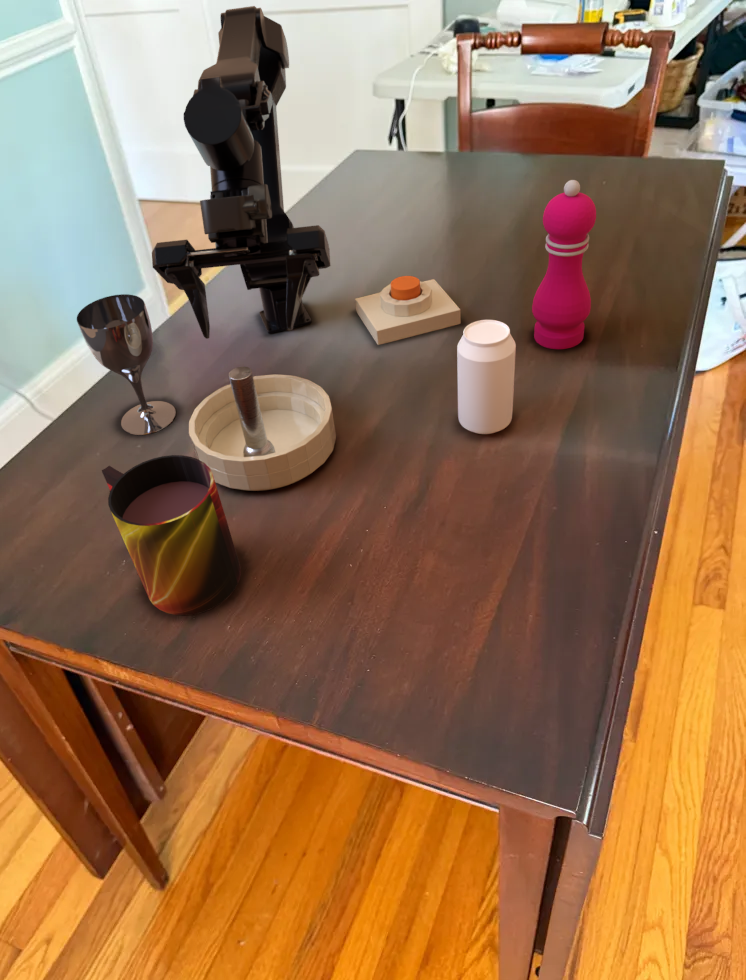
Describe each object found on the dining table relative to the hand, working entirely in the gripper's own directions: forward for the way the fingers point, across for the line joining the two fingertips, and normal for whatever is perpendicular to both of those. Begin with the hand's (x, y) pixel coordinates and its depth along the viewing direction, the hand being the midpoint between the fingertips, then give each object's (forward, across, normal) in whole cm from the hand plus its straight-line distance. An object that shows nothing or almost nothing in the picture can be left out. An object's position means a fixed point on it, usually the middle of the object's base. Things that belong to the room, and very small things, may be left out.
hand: (247, 333), depth 85 cm
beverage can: (+11, +26, +9) cm, 29 cm away
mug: (+26, -8, -6) cm, 28 cm away
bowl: (+12, 0, +7) cm, 14 cm away
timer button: (-10, +18, +24) cm, 32 cm away
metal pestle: (+14, 0, +3) cm, 15 cm away
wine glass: (+6, -16, +14) cm, 22 cm away
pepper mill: (-1, +37, +21) cm, 43 cm away
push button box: (-8, +18, +27) cm, 33 cm away
